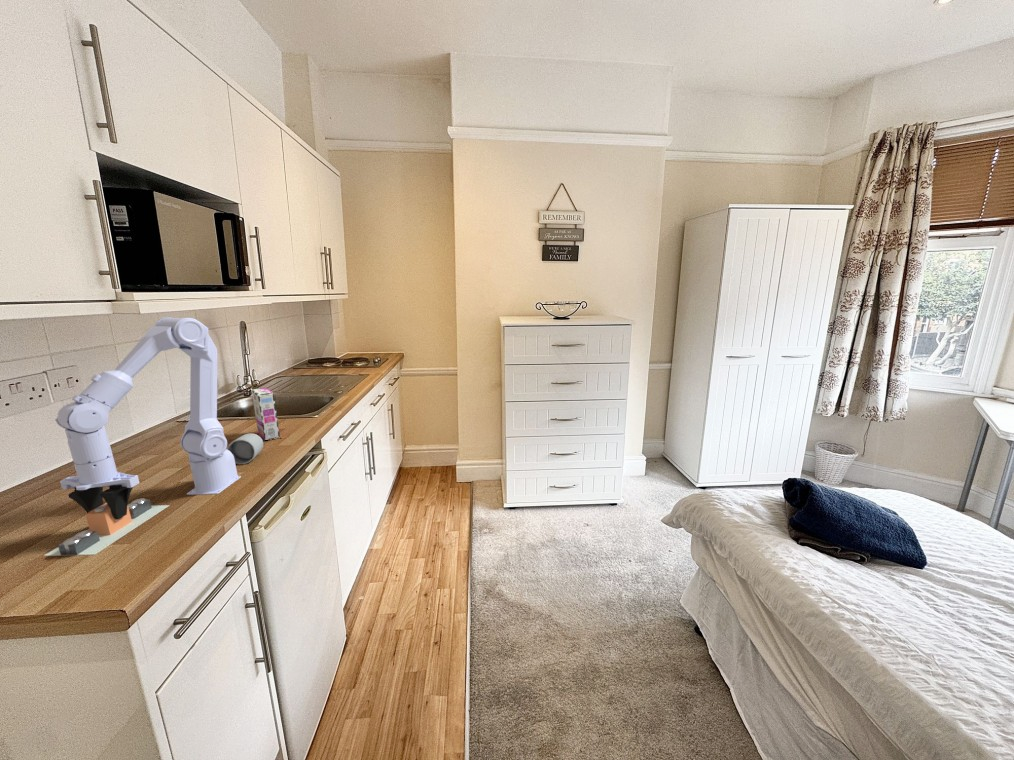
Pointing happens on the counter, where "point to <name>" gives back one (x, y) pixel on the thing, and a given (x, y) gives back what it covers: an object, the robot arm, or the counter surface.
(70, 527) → the counter surface
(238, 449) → the ceramic mug
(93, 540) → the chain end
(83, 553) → the mat
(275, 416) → the candy bar box
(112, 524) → the orange block with knobs
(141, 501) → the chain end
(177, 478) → the counter surface
